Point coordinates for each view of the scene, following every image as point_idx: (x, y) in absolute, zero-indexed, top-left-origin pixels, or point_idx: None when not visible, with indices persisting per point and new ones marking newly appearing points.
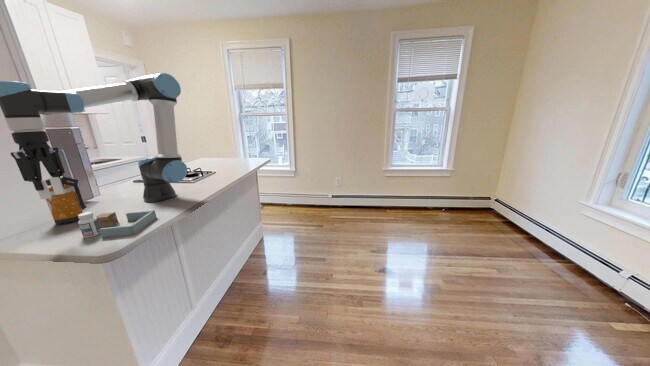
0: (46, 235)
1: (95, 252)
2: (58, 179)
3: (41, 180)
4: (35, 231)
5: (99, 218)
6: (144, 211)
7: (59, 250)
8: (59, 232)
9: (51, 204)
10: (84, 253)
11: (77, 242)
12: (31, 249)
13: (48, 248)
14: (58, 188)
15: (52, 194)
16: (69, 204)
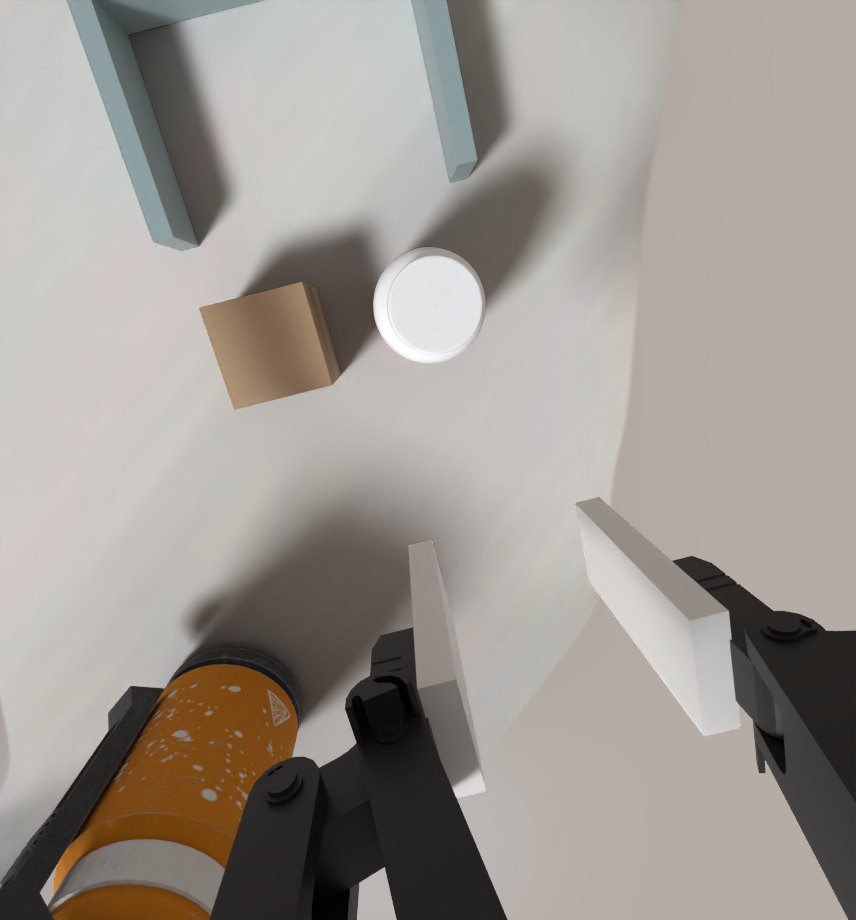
0: None
1: (658, 8)
2: (443, 653)
3: (750, 622)
4: None
5: (319, 338)
6: (102, 73)
7: (612, 307)
8: (396, 575)
9: None
10: (662, 82)
11: (524, 299)
12: (589, 495)
13: (585, 406)
14: (446, 603)
15: None
16: (208, 738)
